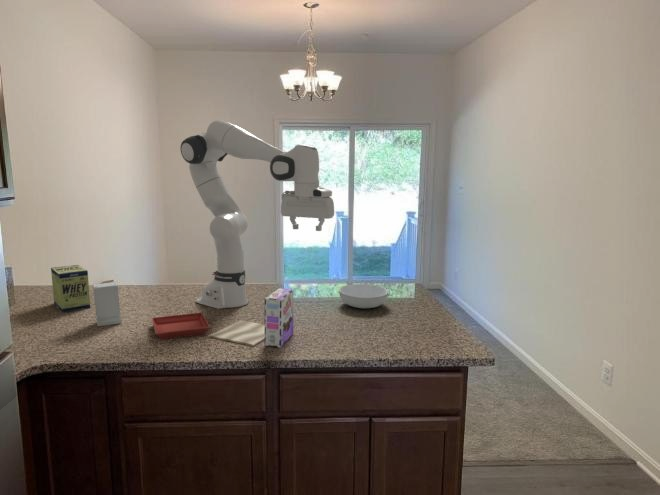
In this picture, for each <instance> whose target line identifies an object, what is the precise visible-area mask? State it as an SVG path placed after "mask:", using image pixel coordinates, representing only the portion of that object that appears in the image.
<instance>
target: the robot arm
mask: <svg viewBox="0 0 660 495" xmlns="http://www.w3.org/2000/svg"><path fill="white" fill-rule="evenodd" d="M180 155H181V156H182V158H183V159H184V161H185V162H186V163H188V164H189V166H188V169H189V172H190V176H191V178H192V181H193V184H194V186H195V188H196V190H197V192H198V195H199V196H200V198H201V201H202V202H203V204H204V206H205V208H208V209H209V211H210V212H211V213H212V215H214V218H213V219H212V220H211V222H210V224H209V231H210V235H211V236H212V238H213V241H214V246H215V250H216V251H215V252H216V257H217V258H216V259H217V260H216V263H217V265H216V266H217V268H216V271H214V272H212V276H214V278H213V279H212V280H211V281H210V282H208V283H207V284H206V285H204V287H202V291H201V296H200V297H198V298H196V299H195V300H196V301H195V303H196V304H197V303H198V304H200V305H203V306H207V307H210V308H214V309H225V308H226V309H227V308H239V307H244V306H245V305H247V304H249V300H248V296H247V291H246V270H245V254H244V250H243V249H242V248H243V247H242V244H241V239H240V237H241V235H243V234H244V233H245V232H246V231H247V228H248V227H249V219H248V217H247V215H246V214H245V213H244V212H243V211H242V210H241V208H240V207H239V205H238V204H237V202H235V200H234V198H233V197H232V196H231V194H230V192H229V190H228V189H227V188H228V187H227V186H226V184H225V182H224V179H223V178H222V176H221V174H220V171H219V170H218V167H217V163H218V162H223V160H224V159H225V157H227V155H230V156H231V157H234V158H238V159H242V160H258V161H264V162H268V163H270V164H269V171H270V174H271V176H272V177H273V179H275V180H276V181H279V182H294V184H293V187H294V188H293V189H294V190H285V191H284V192H282V194H281V204H280V214H281V216H282V217H289V221H290V222H291V225H292V230H299V224H298V223H297V221H296V220H297V218H307V219H309V218H311V219H317V220H318V225H315V231H316V232H321V231H322V227H323V224H324V223H325V220H326V219H327V220H329V219H332V218H334V216H335V204H334V203H335V202H334V200H333V198H332V196H333V191H332V190H331V189H329V188H325V187H322V185H321V186H320V180H319V179H320V178H319V172H320V157H319V152H318V149H317V148H316V147H315V146H313V145H309V144H303V143H302V144H301V143H300V144H295V146H294V147H293V148H291V149H290V150H288V151H285V150H283V149H281V148H279V147H276V146H275V145H272V144H270V143H268V142H266V141H264V140H263V139H261V138H259V137H258V136H256V135H254V134H252V133H251V132H250V131H247V130H246V129H244V128H242V127H240V126H238V125H236V124H234V123H231V122H228V121H225V120H220V119H217V120H214V121H212V122H211V123H210V124H209V125H208V127H207V129H206V132H202V133H199V134H196V135H192V136H191V135H190V136H189V137H187V138H184V139H183V141H181V144H180Z"/></svg>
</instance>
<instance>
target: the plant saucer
mask: <svg viewBox="0 0 660 495" xmlns="http://www.w3.org/2000/svg"><path fill="white" fill-rule="evenodd" d="M151 320H152V324H153V328H154V333H155V335H156V336H157V337H158V338H159V339H161V340H164V339H165V340H166V339H173V338H174V339H175V338H181V337H189V336H190V337H191V336H197V335H198V336H199V335H204V334H205V333H206V332H208V330H209V329H210V326H211V325H210V324H209V322H208V321H207V319H206V316H205V315H204V314H203V313H202V312H194V313H185V314H175V315H169V316H168V315H167V316H166V315H164V316H158V317H157V316H156V317H152V318H151Z"/></svg>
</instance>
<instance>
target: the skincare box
mask: <svg viewBox="0 0 660 495" xmlns="http://www.w3.org/2000/svg"><path fill="white" fill-rule="evenodd" d="M92 290H93V297H94V298H93V299H94V307H95V316H96V325H97V327H104V326H112V325H117V324H122V317H121V315H122V314H121V308H120V306H121V305H120V296H119V284H118V282H117V281H111V282H106V283H105V282H104V283H95V284H93V289H92Z"/></svg>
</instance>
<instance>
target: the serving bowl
mask: <svg viewBox="0 0 660 495" xmlns="http://www.w3.org/2000/svg"><path fill="white" fill-rule="evenodd" d="M338 293H339V297H340V299H341V300H342V302H343V303H344V304H346V305H347V306H350V307H353V308H357V309H365V310H366V309H371V308H377V307H380V306H381V305H383V304H384V303H385V302H386V301H387V299H388V294H389V291H388V289H387V288H385V287H383V286H380V285H374V284H367V283H366V284H365V283H355V284H347V285H343V286H341V287H339V289H338Z"/></svg>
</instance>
